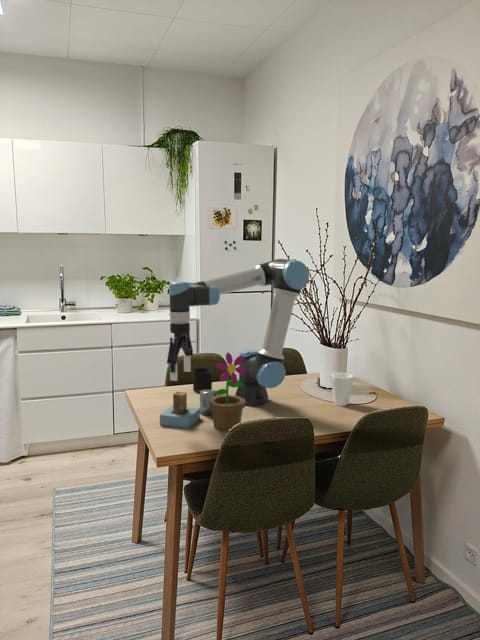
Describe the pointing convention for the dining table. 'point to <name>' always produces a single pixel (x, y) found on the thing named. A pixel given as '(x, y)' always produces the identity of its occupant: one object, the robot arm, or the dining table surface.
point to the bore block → (180, 417)
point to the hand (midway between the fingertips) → (180, 375)
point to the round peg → (206, 401)
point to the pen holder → (202, 379)
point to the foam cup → (341, 388)
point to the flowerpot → (228, 397)
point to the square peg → (180, 403)
